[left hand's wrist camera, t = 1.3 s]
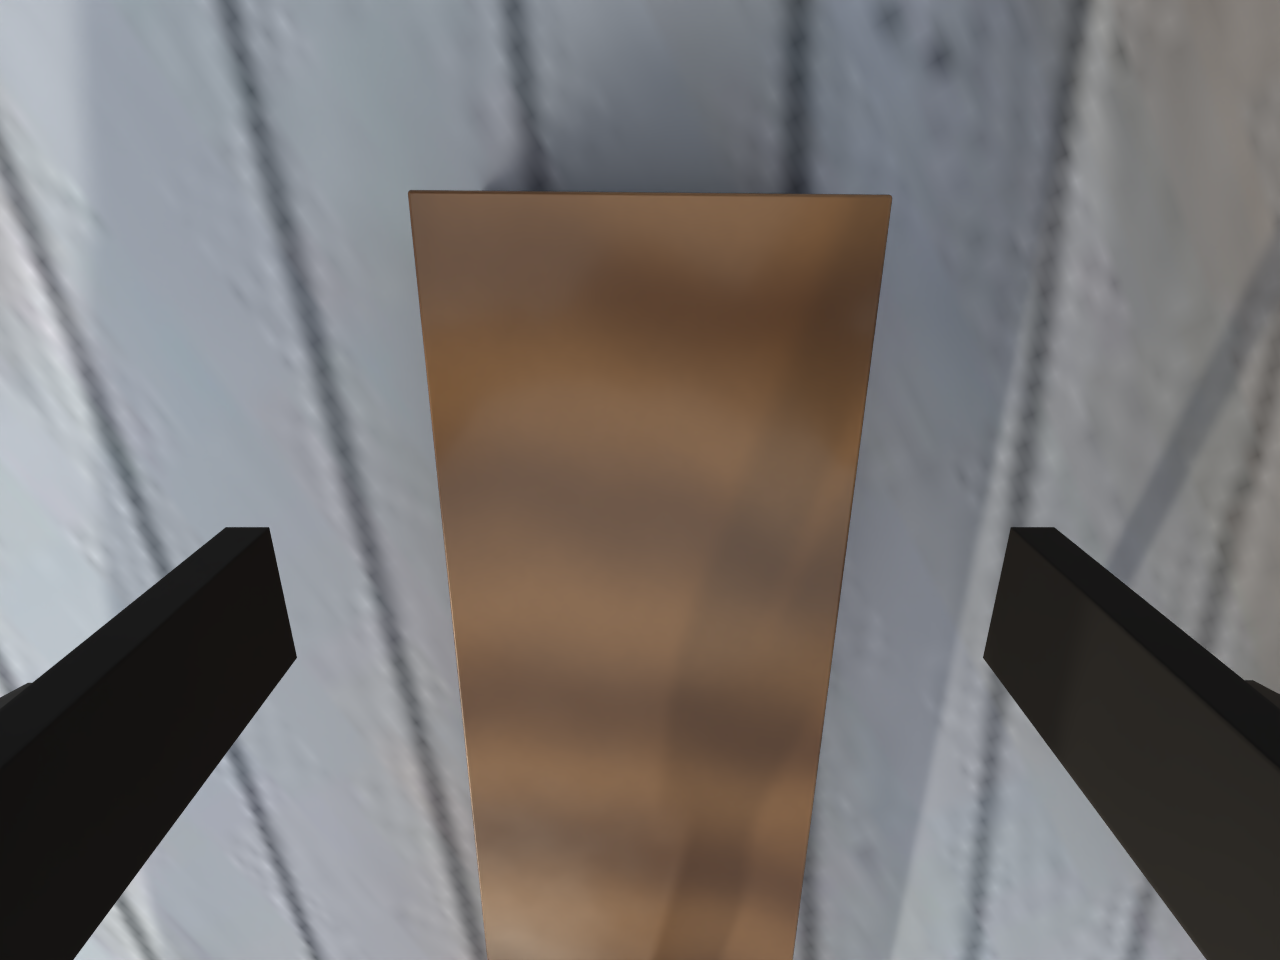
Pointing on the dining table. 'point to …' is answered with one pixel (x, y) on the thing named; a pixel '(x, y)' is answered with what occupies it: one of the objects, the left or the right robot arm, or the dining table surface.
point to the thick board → (645, 547)
